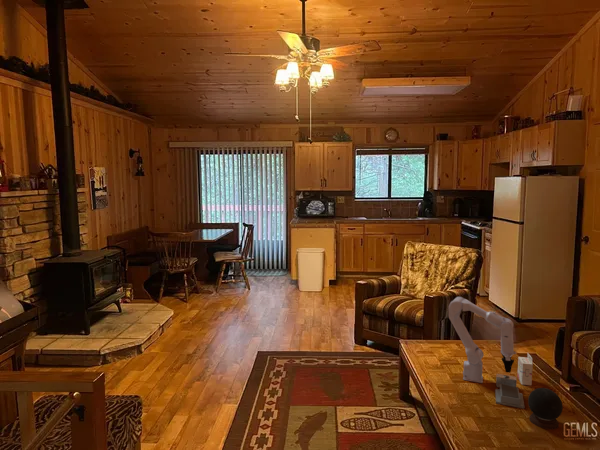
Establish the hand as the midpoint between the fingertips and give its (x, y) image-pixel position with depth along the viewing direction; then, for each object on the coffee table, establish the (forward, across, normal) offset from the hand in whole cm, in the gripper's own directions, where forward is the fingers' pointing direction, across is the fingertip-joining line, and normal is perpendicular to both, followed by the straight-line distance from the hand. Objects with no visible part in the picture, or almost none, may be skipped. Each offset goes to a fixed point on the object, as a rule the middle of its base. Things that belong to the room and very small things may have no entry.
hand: (507, 369), depth 216 cm
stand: (+10, -13, 0) cm, 16 cm away
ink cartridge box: (+10, +10, -8) cm, 16 cm away
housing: (+10, 0, +1) cm, 10 cm away
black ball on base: (+11, -28, -13) cm, 33 cm away
